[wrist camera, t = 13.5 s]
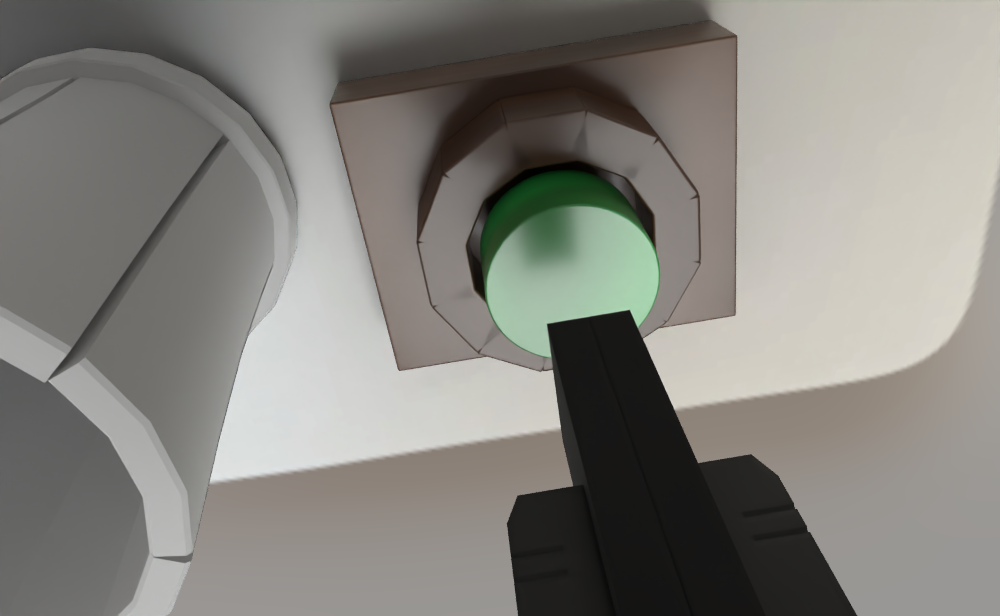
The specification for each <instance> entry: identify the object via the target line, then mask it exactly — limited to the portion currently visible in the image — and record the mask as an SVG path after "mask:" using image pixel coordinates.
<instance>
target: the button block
mask: <svg viewBox="0 0 1000 616" xmlns="http://www.w3.org/2000/svg"><path fill="white" fill-rule="evenodd" d="M330 109H331V113H332V117H333V121H334V125H335V128H336V132H337V136H338V140H339V144H340V148H341V152H342V155H343V159H344V163H345V167H346V171H347V175H348V179H349V182H350V186H351V190H352V194H353V198H354V202H355V205H356V209H357V213H358V217H359V221H360V225H361V229H362V232H363V236H364V240H365V244H366V248H367V252H368V256H369V259H370V263H371V267H372V271H373V275H374V279H375V283H376V286H377V290H378V294H379V298H380V302H381V306H382V309H383V313H384V317H385V321H386V325H387V329H388V333H389V336H390V340H391V344H392V348H393V352H394V356H395V360H396V363H397V367H398V370H399V371H402V370H408V369H414V368H420V367H426V366H432V365H438V364H444V363H450V362H456V361H462V360H468V359H475V358H481V357H487V356H488V357H491V358H495V359H498V360H502V361H505V362H508V363H512V364H515V365H519V366H522V367H526V368H529V369H533V370H536V371H540V372H541V371H542V370H543V371H548V370H553V365H552V359H551V358H546V357H541V356H538V355H535V354H532V353H529V352H527V351H525V350H523V349H521V348H520V347H518V346H517V345H515V344H514V343H512V342H511V341H510V340H509V339H508V338H507V337H505V336H504V335H503V334H502V332H501V331H500V330H499V329H498V328H497V326H496V324H495V323H494V321H493V320H492V318H491V315H490V313H489V310H488V307H487V303H486V299H485V290H484V282H483V274H482V265H481V257H480V239H481V234H482V230H483V227H484V224H485V221H486V219H487V217H488V215H489V213H490V211H491V210H492V208H493V207H494V205H495V204H496V203H497V202H498V200H499V199H500V198H501V197H502V196H503V195H504V194H505V193H506V192H508V191H509V190H510V189H511V188H512V187H514V186H515V185H517V184H518V183H520V182H522V181H524V180H526V179H528V178H530V177H532V176H535V175H538V174H540V173H545V172H549V171H556V170H576V171H582V172H586V173H590V174H593V175H596V176H598V177H600V178H603V179H605V180H606V181H608V182H609V183H611V184H613V185H614V186H615V187H616V188H617V189H618V190H620V191H621V192H622V194H623V195H624V196H625V197H626V198H627V200H628V201H629V203H630V204H631V206H632V207H633V209H634V211H635V213H636V214H637V216H638V218H639V220H640V222H641V223H642V225H643V227H644V229H645V230H646V232H647V234H648V236H649V237H650V239H651V241H652V243H653V245H654V247H655V250H656V252H657V256H658V259H659V265H660V285H659V290H658V294H657V297H656V300H655V303H654V305H653V307H652V309H651V311H650V313H649V314H648V316H647V318H646V319H645V321H644V322H643V323H642V324H641V325H640V327H639V328H638V329H639V332H640V334H641V336H642V338H645V337H646V336H648V335H649V334H650V333H652V332H653V331H655V330H656V329H658V328H663V327H669V326H675V325H681V324H687V323H693V322H699V321H705V320H711V319H717V318H723V317H730V316H735V314H736V165H737V35H736V34H734V33H732V32H731V31H729V30H727V29H726V28H724V27H722V26H721V25H719V24H717V23H716V22H714V21H712V20H710V21H704V22H698V23H692V24H686V25H680V26H674V27H668V28H662V29H656V30H650V31H644V32H639V33H633V34H627V35H621V36H615V37H609V38H603V39H597V40H591V41H585V42H579V43H573V44H567V45H561V46H555V47H549V48H543V49H538V50H532V51H526V52H520V53H514V54H508V55H502V56H496V57H490V58H484V59H478V60H472V61H466V62H460V63H454V64H448V65H442V66H437V67H431V68H425V69H419V70H413V71H407V72H401V73H395V74H389V75H383V76H377V77H371V78H365V79H359V80H353V81H347V82H341V83H338V84H337V87H336V89H335V92H334V94H333V97H332V99H331V102H330Z"/></svg>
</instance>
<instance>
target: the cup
mask: <svg viewBox="0 0 1000 616" xmlns="http://www.w3.org/2000/svg"><path fill="white" fill-rule="evenodd" d="M296 248H297V202H296V199H295V196H294V193H293V190H292V188H291V185H290V182H289V179H288V176H287V173H286V170H285V167H284V164H283V162H282V159H281V156H280V155H279V153H278V152H277V151H276V149H275V148H274V147H273V145H272V144H271V142H270V141H269V140H268V138H267V137H266V136H265V134H264V133H263V132H262V130H261V129H260V127H259V126H258V125H257V123H256V122H255V121H254V119H253V118H252V117H251V115H250V114H249V113H248V112H247V111H246V110H245V109H243V108H242V107H241V106H239V105H238V104H237V103H236V102H234V101H233V100H232V99H231V98H229V97H228V96H227V95H225V94H224V93H223V92H222V91H220V90H219V89H218V88H216V87H215V86H214V85H213V84H211V83H210V82H209V81H207V80H206V79H205V78H204V77H202V76H200V75H197V74H195V73H192V72H190V71H187V70H185V69H183V68H180V67H178V66H175V65H173V64H171V63H168V62H166V61H163V60H161V59H159V58H156V57H154V56H151V55H149V54H144V53H134V52H125V51H116V50H107V49H98V48H85V49H81V50H76V51H71V52H67V53H62V54H57V55H53V56H48V57H43V58H39V59H35V60H33V61H31V62H29V63H27V64H26V65H24V66H22V67H20V68H18V69H16V70H14V71H13V72H11V73H10V74H8V75H7V76H5V77H4V78H2V79H1V80H0V616H167V615H168V614H169V613H170V612H171V611H172V609H173V606H174V603H175V601H176V598H177V596H178V593H179V591H180V588H181V586H182V583H183V581H184V578H185V575H186V573H187V570H188V568H189V565H190V562H191V560H192V556H193V551H194V547H195V543H196V538H197V534H198V529H199V525H200V521H201V516H202V512H203V508H204V503H205V499H206V495H207V490H208V486H209V482H210V477H211V473H212V468H213V464H214V460H215V455H216V451H217V447H218V442H219V438H220V435H221V431H222V427H223V423H224V419H225V416H226V412H227V408H228V404H229V400H230V397H231V393H232V389H233V385H234V381H235V377H236V374H237V370H238V366H239V362H240V358H241V355H242V352H243V349H244V346H245V343H246V340H247V338H248V335H249V334H250V333H251V332H252V330H253V329H254V328H255V327H256V326H257V325H258V324H259V323H260V322H261V320H262V319H263V318H264V317H265V316H266V315H267V314H268V313H269V312H270V310H271V309H272V308H273V307H274V306H275V305H276V302H277V300H278V297H279V294H280V292H281V289H282V287H283V284H284V281H285V279H286V276H287V273H288V271H289V268H290V266H291V263H292V260H293V257H294V254H295V251H296Z"/></svg>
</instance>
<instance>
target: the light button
mask: <svg viewBox="0 0 1000 616" xmlns="http://www.w3.org/2000/svg"><path fill="white" fill-rule="evenodd" d="M480 257H481V265H482V274H483V282H484V290H485V299H486V303H487V307H488V310H489V313H490V315H491V318H492V320H493V321H494V323H495V324H496V326H497V328H498V329H499V330H500V331H501V332H502V334H503V335H504V336H505V337H507V338H508V339H509V340H510V341H511V342H512V343H514V344H515V345H517V346H518V347H520V348H521V349H523V350H525V351H527V352H529V353H532V354H535V355H538V356H541V357H546V358H551V351H550V343H549V336H548V329H547V324H549V323H554V322H560V321H566V320H572V319H578V318H584V317H590V316H596V315H602V314H608V313H614V312H620V311H626V310H630V311H631V314H632V316H633V318H634V320H635V323H636V325H637V327H638V328H639V327H640V325H641V324H642V323H643V322H644V321H645V319H646V318H647V316H648V314H649V313H650V311H651V309H652V307H653V305H654V303H655V300H656V297H657V294H658V290H659V285H660V265H659V259H658V256H657V252H656V250H655V247H654V245H653V243H652V241H651V239H650V237H649V236H648V234H647V232H646V230H645V229H644V227H643V225H642V223H641V222H640V220H639V218H638V216H637V214H636V213H635V211H634V209H633V207H632V206H631V204H630V203H629V201H628V200H627V198H626V197H625V196H624V195H623V194H622V192H621V191H620V190H618V189H617V188H616V187H615V186H614V185H613V184H611V183H609V182H608V181H606V180H605V179H603V178H600V177H598V176H596V175H593V174H590V173H586V172H582V171H576V170H556V171H549V172H545V173H540V174H538V175H535V176H532V177H530V178H528V179H526V180H524V181H522V182H520V183H518V184H517V185H515V186H514V187H512V188H511V189H510V190H509V191H508V192H506V193H505V194H504V195H503V196H502V197H501V198H500V199H499V200H498V202H497V203H496V204H495V205H494V207H493V208H492V210H491V211H490V213H489V215H488V217H487V219H486V221H485V224H484V227H483V230H482V234H481V239H480ZM551 359H552V358H551Z"/></svg>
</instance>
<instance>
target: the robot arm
mask: <svg viewBox="0 0 1000 616" xmlns="http://www.w3.org/2000/svg"><path fill="white" fill-rule="evenodd" d="M547 329H548V336H549V343H550V351H551V358H552V365H553V373H554V380H555V387H556V394H557V402H558V409H559V416H560V424H561V431H562V438H563V443H564V448H565V452H566V457H567V461H568V465H569V469H570V474H571V478H572V482H573V487H566V488H560V489H555V490H548V491H542V492H536V493H531V494H525V495H519V496H517V499H516V502H515V504H514V507H513V509H512V512H511V514H510V517H509V520H508V522H507V527H508V536H509V544H510V552H511V560H512V569H513V577H514V585H515V593H516V602H517V610H518V616H857V615H856V613H855V611H854V609H853V608H852V606H851V604H850V602H849V601H848V599H847V597H846V595H845V593H844V592H843V590H842V588H841V587H840V585H839V583H838V581H837V579H836V577H835V576H834V574H833V572H832V570H831V569H830V567H829V565H828V563H827V562H826V560H825V558H824V556H823V554H822V553H821V551H820V549H819V547H818V546H817V544H816V542H815V540H814V538H813V537H812V535H811V533H810V532H808V531H807V526H806V525H805V522H804V521H803V519H802V517H801V515H800V514H799V512H798V510H797V509H795V507H794V503H793V501H792V500H791V498H790V496H789V494H788V492H787V491H786V489H785V487H784V485H783V483H782V482H781V480H780V478H779V476H778V475H776V474H775V473H774V472H773V471H771V470H770V469H769V468H768V467H766V466H765V465H764V464H762V463H761V462H760V461H759V460H758V459H756V458H755V457H754V456H752V455H751V454H750V455H744V456H738V457H733V458H727V459H720V460H715V461H709V462H703V463H698V462H697V460H696V458H695V455H694V453H693V451H692V449H691V446H690V444H689V442H688V440H687V438H686V435H685V433H684V431H683V429H682V426H681V424H680V422H679V420H678V417H677V415H676V413H675V410H674V408H673V406H672V404H671V401H670V399H669V397H668V395H667V392H666V390H665V388H664V386H663V383H662V381H661V379H660V377H659V374H658V372H657V370H656V368H655V365H654V363H653V361H652V359H651V356H650V354H649V352H648V350H647V347H646V345H645V343H644V341H643V338H642V336H641V334H640V332H639V329H638V327H637V325H636V323H635V320H634V318H633V316H632V314H631V311H630V310H626V311H620V312H614V313H608V314H602V315H596V316H590V317H584V318H578V319H572V320H566V321H560V322H554V323H549V324H547Z"/></svg>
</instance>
